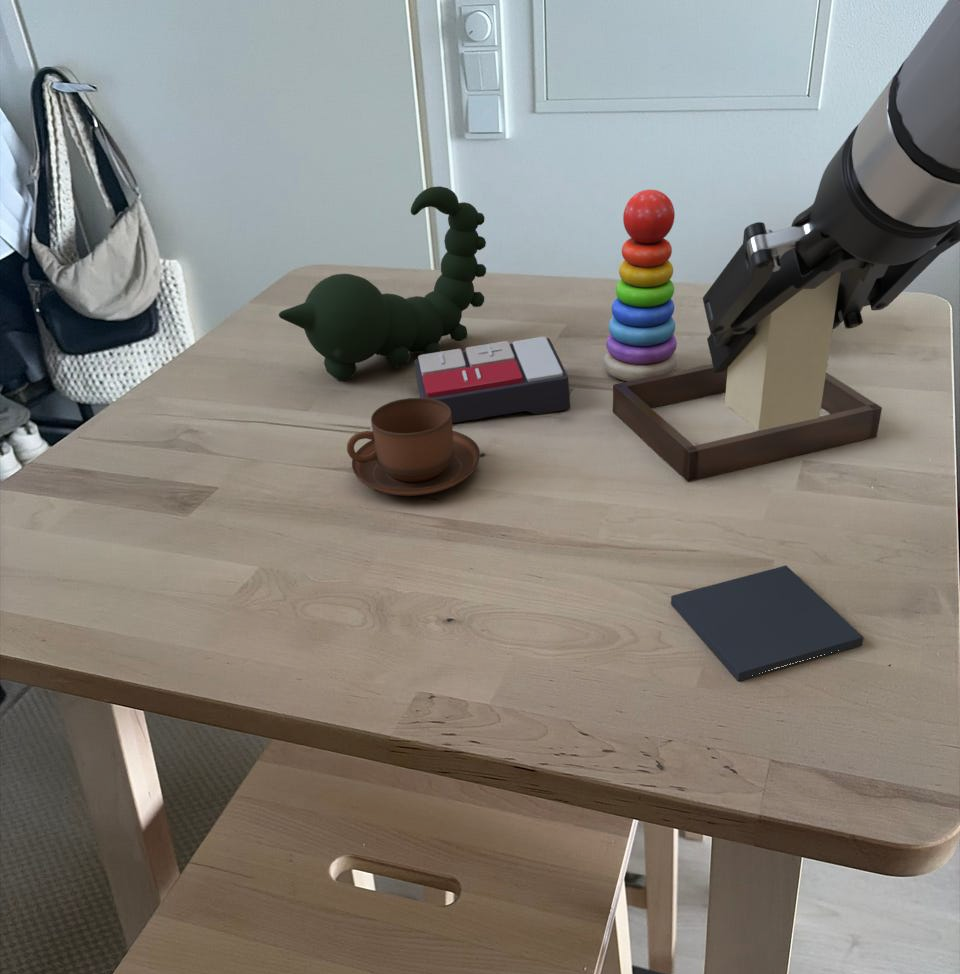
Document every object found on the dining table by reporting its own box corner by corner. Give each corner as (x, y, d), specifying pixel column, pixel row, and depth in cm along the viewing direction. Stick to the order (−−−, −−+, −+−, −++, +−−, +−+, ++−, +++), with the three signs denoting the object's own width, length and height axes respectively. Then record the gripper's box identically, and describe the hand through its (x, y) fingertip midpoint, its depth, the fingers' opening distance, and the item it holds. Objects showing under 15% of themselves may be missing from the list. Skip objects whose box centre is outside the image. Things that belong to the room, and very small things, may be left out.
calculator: (412, 352, 111) (548, 329, 112) (418, 389, 114) (551, 367, 114) (421, 394, 103) (568, 370, 103) (427, 433, 105) (571, 409, 106)
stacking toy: (596, 382, 111) (598, 200, 99) (611, 353, 117) (614, 178, 105) (670, 387, 109) (680, 202, 97) (681, 357, 115) (692, 179, 103)
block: (783, 391, 79) (801, 244, 72) (819, 418, 75) (842, 265, 68) (724, 404, 78) (737, 256, 71) (758, 431, 74) (775, 277, 67)
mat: (784, 573, 81) (786, 565, 80) (862, 645, 73) (864, 636, 73) (670, 603, 79) (670, 595, 78) (737, 681, 71) (739, 673, 71)
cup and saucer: (394, 522, 91) (385, 459, 87) (332, 471, 99) (322, 412, 95) (506, 478, 96) (502, 418, 92) (438, 433, 104) (433, 376, 100)
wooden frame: (783, 374, 110) (787, 347, 108) (876, 436, 98) (882, 407, 96) (612, 411, 105) (612, 384, 103) (687, 482, 93) (689, 452, 91)
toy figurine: (455, 338, 128) (268, 377, 116) (455, 173, 117) (249, 198, 105) (498, 361, 121) (305, 404, 110) (502, 189, 110) (288, 217, 99)
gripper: (1055, 83, 56) (857, 287, 79) (733, 120, 54) (626, 319, 76) (1090, 211, 55) (880, 379, 78) (765, 254, 53) (647, 414, 76)
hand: (754, 349), depth 77 cm, fingers closed on block, 5 cm apart
